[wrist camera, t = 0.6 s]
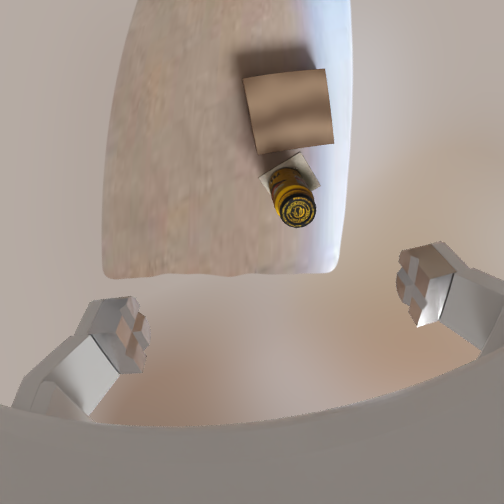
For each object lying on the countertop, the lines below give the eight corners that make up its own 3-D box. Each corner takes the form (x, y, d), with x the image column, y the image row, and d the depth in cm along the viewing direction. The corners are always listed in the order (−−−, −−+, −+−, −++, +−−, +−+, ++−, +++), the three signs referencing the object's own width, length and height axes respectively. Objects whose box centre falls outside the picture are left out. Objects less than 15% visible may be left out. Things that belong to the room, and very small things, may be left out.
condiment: (258, 177, 50) (265, 206, 40) (300, 151, 48) (318, 174, 38) (280, 209, 54) (291, 243, 44) (320, 185, 52) (341, 214, 41)
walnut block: (242, 78, 41) (243, 78, 37) (315, 69, 40) (324, 68, 36) (255, 147, 48) (257, 154, 43) (325, 137, 47) (334, 143, 43)
